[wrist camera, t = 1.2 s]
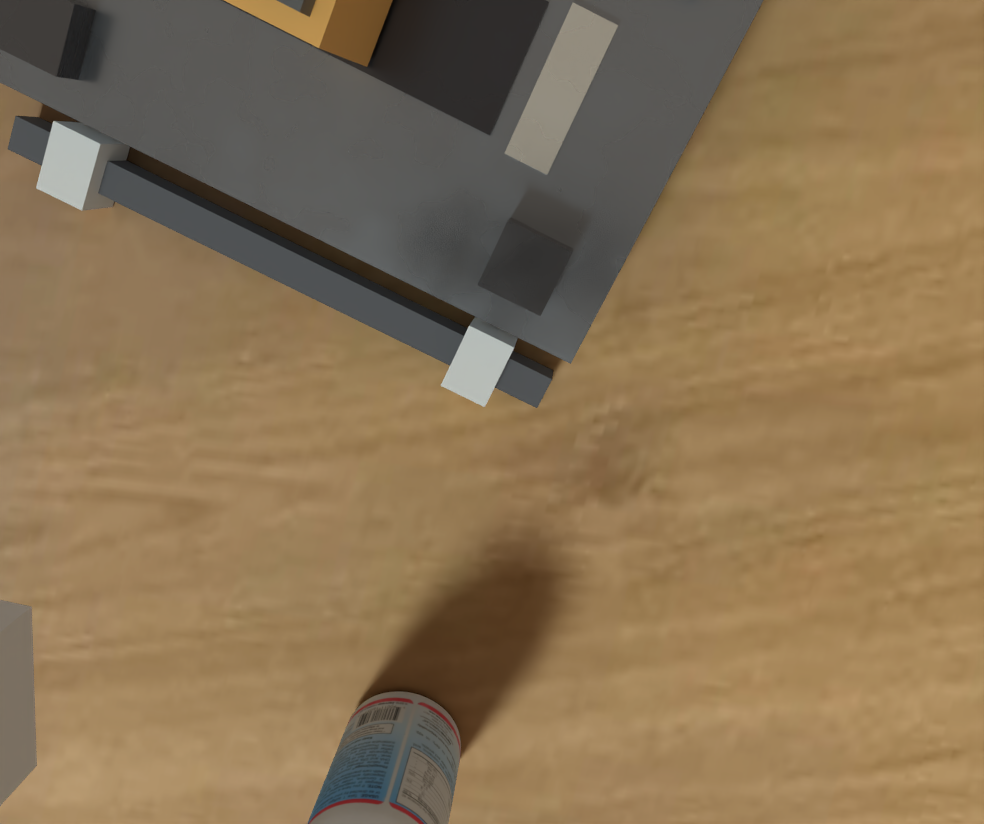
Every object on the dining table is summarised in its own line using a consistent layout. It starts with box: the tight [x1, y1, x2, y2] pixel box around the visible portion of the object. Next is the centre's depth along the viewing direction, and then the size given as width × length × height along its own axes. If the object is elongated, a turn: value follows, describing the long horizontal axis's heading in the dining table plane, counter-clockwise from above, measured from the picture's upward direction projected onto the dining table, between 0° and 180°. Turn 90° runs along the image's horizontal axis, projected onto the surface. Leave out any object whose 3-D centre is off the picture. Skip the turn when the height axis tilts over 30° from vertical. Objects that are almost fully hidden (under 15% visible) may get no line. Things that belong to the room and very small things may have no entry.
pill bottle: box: [308, 691, 461, 824], centre depth 36 cm, size 6×6×11 cm
